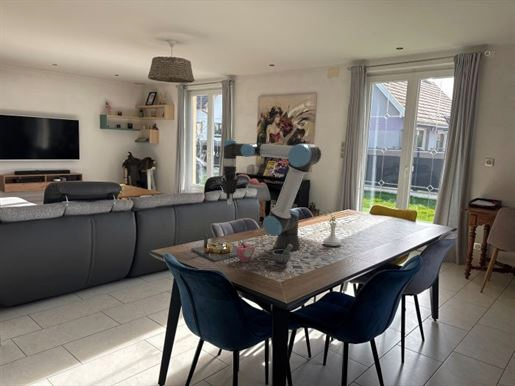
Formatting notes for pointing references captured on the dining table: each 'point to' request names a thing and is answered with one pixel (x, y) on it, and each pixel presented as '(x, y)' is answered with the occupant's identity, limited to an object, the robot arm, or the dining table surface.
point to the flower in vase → (331, 239)
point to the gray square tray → (216, 256)
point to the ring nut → (216, 249)
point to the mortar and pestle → (282, 256)
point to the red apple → (245, 252)
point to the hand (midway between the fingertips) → (229, 204)
